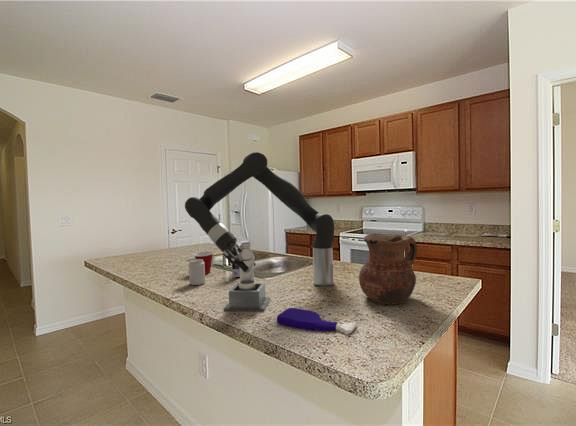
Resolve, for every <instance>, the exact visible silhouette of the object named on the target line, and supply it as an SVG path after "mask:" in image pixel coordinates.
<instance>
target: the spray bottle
mask: <svg viewBox="0 0 576 426" xmlns="http://www.w3.org/2000/svg"><path fill="white" fill-rule="evenodd" d="M276 322H277V324H278V325H281V326H285V327H287V328H293V329H298V330H304V331H313V332H315V331H318V332H319V331H321V332H326V331H328V332H330V331H331V332H333V331H334V332H335V331H337V332H341V333H344V334H345V335H346V336H347V335H349V334H352V333H353V332H354V330H355V329H356V328H357V322H355V321H354V322H348V323H346V321H345V322H344V321H342V320H340V323H339V322H338V321H330V320H329V321H328V320H325V319H322V318H321V316H320V315H319V313H318V312H316V311H313V310H308V309H303V308H302V309H301V308H296V307H295V308H294V307H288V308H286V309H284V310H283V311H281V313H279V314H278V315H277V316H276Z"/></svg>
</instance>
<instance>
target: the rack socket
mask: <svg viewBox="0 0 576 426" xmlns="http://www.w3.org/2000/svg"><path fill="white" fill-rule="evenodd" d="M239 283H240V282H237V283H236V284H235V285H234V286H232V287H231V289H230V290H229V291H228V303H227V304H226V305H225V306H224V307H223V311H224V312H265V310H266V308H267V306H268V304H269V302H270V301H271V297H270V296H266V283H265V282H255V286H256V289H255V291H239Z"/></svg>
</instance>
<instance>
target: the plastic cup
mask: <svg viewBox="0 0 576 426" xmlns="http://www.w3.org/2000/svg"><path fill="white" fill-rule="evenodd" d="M213 254H214V251H212V250H205V251H199V252H195V253H194V254H193V256H194V258H195V259H202V260H203V262H204V263H205V274H206V275H209V274H211V268H212V259H213ZM208 273H209V274H208Z"/></svg>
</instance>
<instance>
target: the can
mask: <svg viewBox="0 0 576 426" xmlns="http://www.w3.org/2000/svg"><path fill="white" fill-rule="evenodd" d="M188 274H189V279H188V280H189V285H191V286H193V285H198V286H202V285H204V284H205V283H206V275H205V263H204V262H203V260H202V259H196V258H195V259H190V260H189V263H188ZM201 284H202V285H201Z"/></svg>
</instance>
